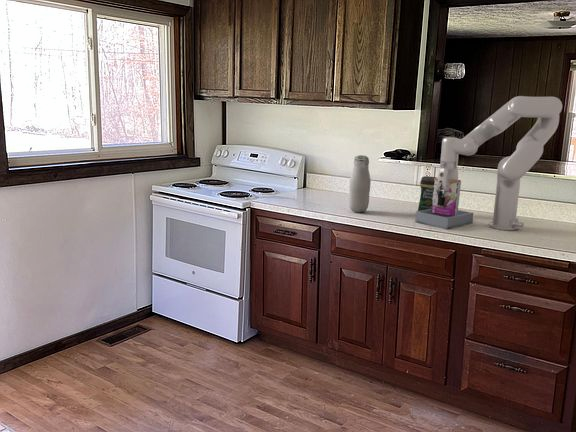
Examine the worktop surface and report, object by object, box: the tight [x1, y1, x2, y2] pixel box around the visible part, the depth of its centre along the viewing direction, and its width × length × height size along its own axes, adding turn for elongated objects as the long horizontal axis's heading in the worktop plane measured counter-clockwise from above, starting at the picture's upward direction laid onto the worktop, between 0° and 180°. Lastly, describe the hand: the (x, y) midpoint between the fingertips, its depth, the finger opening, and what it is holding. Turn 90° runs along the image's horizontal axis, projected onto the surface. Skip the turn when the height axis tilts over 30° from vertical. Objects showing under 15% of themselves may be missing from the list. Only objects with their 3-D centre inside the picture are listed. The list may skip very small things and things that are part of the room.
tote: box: [414, 209, 474, 230], centre depth 253 cm, size 17×20×5 cm
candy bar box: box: [431, 177, 462, 216], centre depth 251 cm, size 11×5×16 cm, turn 57°
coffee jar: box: [417, 175, 438, 211], centre depth 270 cm, size 10×8×19 cm
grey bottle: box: [348, 154, 372, 213], centre depth 270 cm, size 10×10×28 cm
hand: (445, 204), depth 252 cm, fingers closed on candy bar box, 6 cm apart
